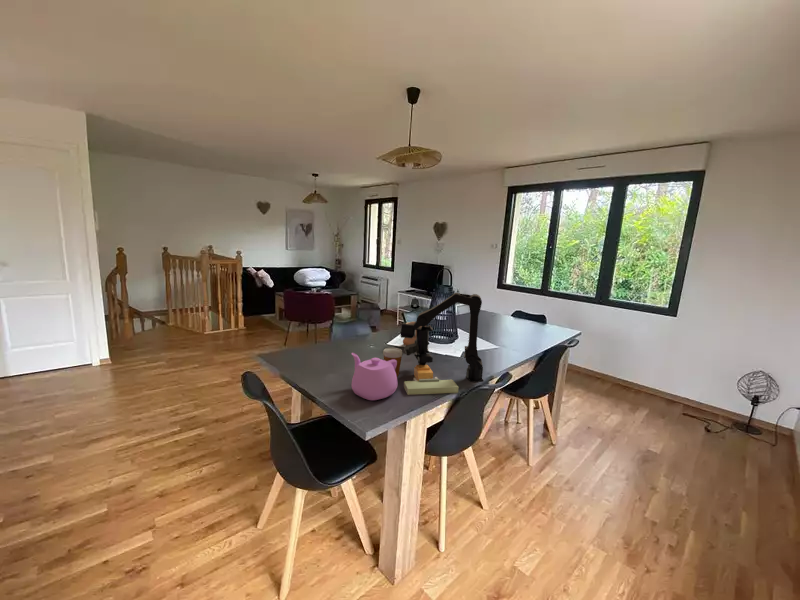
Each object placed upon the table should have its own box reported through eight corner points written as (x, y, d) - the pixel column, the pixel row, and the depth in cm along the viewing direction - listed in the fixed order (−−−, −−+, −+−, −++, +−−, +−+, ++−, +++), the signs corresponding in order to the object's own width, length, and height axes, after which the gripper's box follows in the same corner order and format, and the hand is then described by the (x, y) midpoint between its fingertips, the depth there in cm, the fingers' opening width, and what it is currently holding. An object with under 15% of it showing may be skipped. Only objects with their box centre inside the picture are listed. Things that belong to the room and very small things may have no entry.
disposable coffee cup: (384, 379, 164) (385, 354, 162) (379, 371, 173) (380, 347, 171) (404, 378, 166) (405, 353, 164) (398, 370, 175) (399, 346, 173)
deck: (447, 379, 167) (448, 373, 166) (458, 392, 153) (458, 385, 152) (401, 381, 162) (401, 374, 162) (407, 394, 149) (407, 387, 148)
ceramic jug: (396, 345, 216) (397, 322, 213) (412, 341, 226) (413, 319, 223) (418, 353, 203) (419, 329, 200) (434, 348, 213) (436, 325, 210)
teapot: (409, 391, 152) (410, 357, 150) (372, 406, 137) (374, 369, 134) (372, 375, 167) (373, 344, 165) (335, 388, 152) (336, 354, 149)
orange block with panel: (428, 374, 172) (428, 364, 171) (432, 380, 164) (433, 370, 164) (414, 374, 171) (414, 364, 170) (417, 381, 163) (418, 370, 162)
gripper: (402, 334, 178) (400, 364, 180) (409, 345, 160) (408, 378, 162) (423, 333, 180) (422, 363, 182) (433, 344, 162) (432, 377, 164)
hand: (420, 370), depth 173 cm, fingers closed
